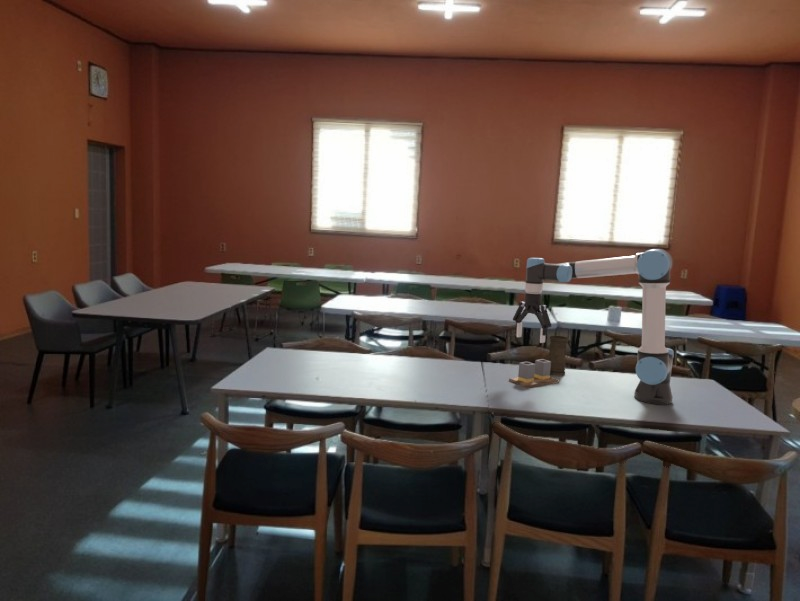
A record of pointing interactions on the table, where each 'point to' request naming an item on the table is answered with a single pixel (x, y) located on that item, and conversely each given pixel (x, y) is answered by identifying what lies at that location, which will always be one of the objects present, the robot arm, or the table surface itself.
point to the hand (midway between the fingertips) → (530, 339)
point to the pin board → (534, 382)
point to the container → (557, 355)
